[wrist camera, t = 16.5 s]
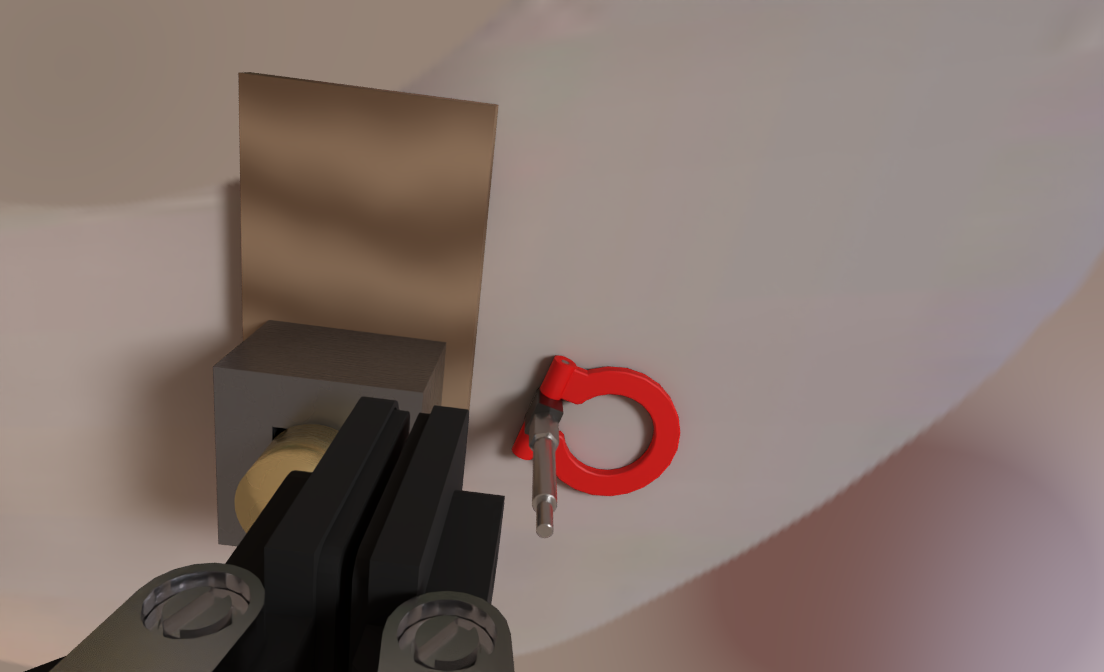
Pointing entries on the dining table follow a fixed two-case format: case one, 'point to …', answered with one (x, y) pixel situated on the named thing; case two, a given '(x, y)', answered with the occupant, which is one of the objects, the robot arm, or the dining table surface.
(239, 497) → the brass pin
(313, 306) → the mount plate
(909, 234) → the dining table surface
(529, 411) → the tow hook
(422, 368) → the hitch block
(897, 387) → the dining table surface
